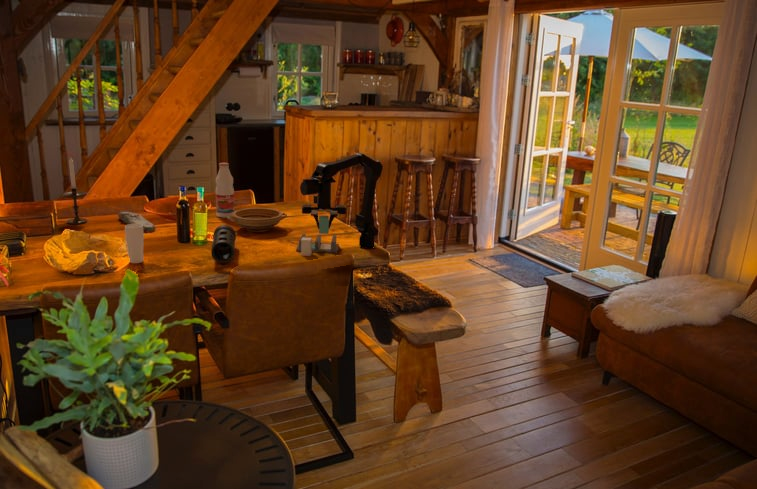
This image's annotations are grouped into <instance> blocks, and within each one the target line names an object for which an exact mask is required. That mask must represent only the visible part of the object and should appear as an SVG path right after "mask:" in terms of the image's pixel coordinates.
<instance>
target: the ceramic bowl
mask: <svg viewBox="0 0 757 489" xmlns="http://www.w3.org/2000/svg"><path fill="white" fill-rule="evenodd" d="M232 215H233V217H231V216H228V217H227V220H228V221H231V222H233V223H236V224H237V225H238V226H240V227H241V228H245V229H246V231H247V232H251V233H252V232H254V233H262V232H267V231H269V230H270V228H273V227H275V226H277V225H278V224H280V222H281V221H282V220H284V219H286V218H287V217H288V213H286V212H282V211H281V210H278V209H274V208H267V207H248V208H243V209H242V208H241V209H238V210H235V212H233V213H232Z"/></svg>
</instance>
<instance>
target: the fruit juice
mask: <svg viewBox="0 0 757 489" xmlns="http://www.w3.org/2000/svg"><path fill="white" fill-rule="evenodd" d="M218 166H219V170H218V172H217V175H216V177H215V184H216V187H215V212H216V216H217V217H218V218H222V219H223V218H224V219H225V218H227V217H228V216H231V217H233V215H232V213H233V212H235V211H236V210H235V189H234V185H233V184H234V176H232V173H231V171H230V168H229V167H230V164H229V163H228V162H220V163H218Z"/></svg>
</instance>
